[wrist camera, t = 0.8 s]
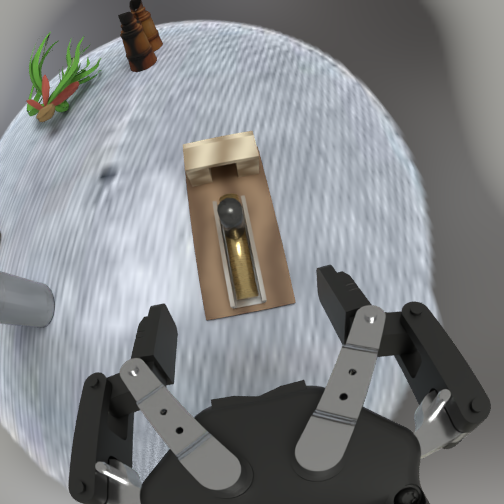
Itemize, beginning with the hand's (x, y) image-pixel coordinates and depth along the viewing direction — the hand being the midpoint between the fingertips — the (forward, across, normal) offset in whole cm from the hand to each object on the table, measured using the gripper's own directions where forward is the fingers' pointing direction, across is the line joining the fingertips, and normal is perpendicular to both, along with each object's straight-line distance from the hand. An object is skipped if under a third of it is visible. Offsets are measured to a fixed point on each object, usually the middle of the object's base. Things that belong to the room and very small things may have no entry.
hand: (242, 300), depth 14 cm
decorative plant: (+69, +41, -30) cm, 85 cm away
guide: (+31, 0, +9) cm, 33 cm away
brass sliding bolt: (+27, 0, +11) cm, 29 cm away
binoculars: (+74, +15, -35) cm, 84 cm away
